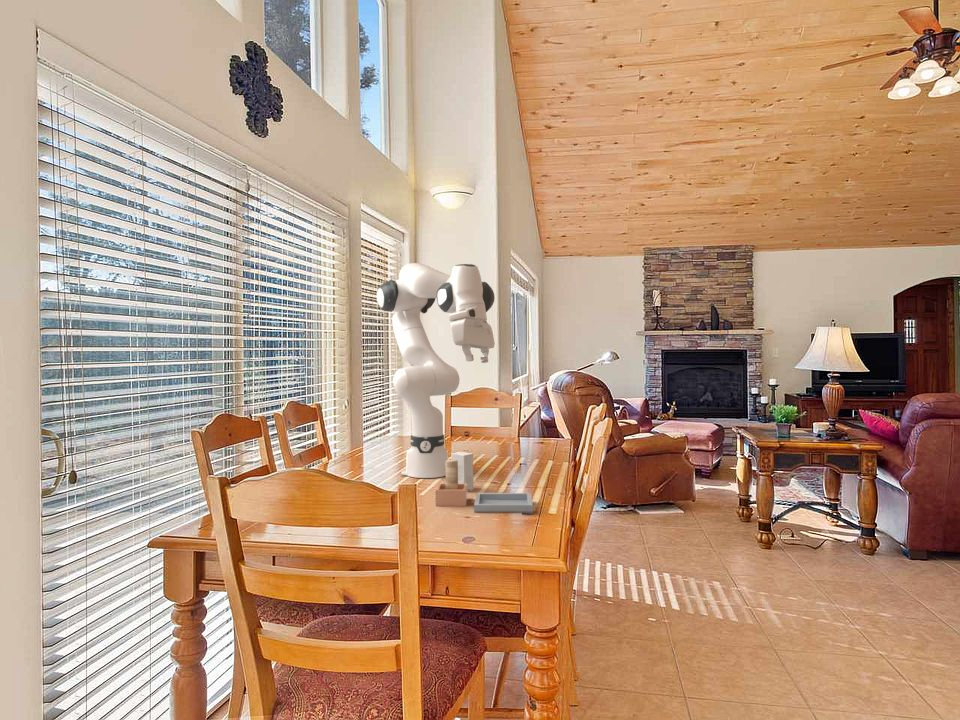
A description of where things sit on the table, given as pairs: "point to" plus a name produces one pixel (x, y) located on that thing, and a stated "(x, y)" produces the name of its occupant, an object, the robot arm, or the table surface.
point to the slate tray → (503, 503)
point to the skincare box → (464, 468)
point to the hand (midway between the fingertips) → (477, 361)
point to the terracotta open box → (451, 496)
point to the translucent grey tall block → (451, 474)
